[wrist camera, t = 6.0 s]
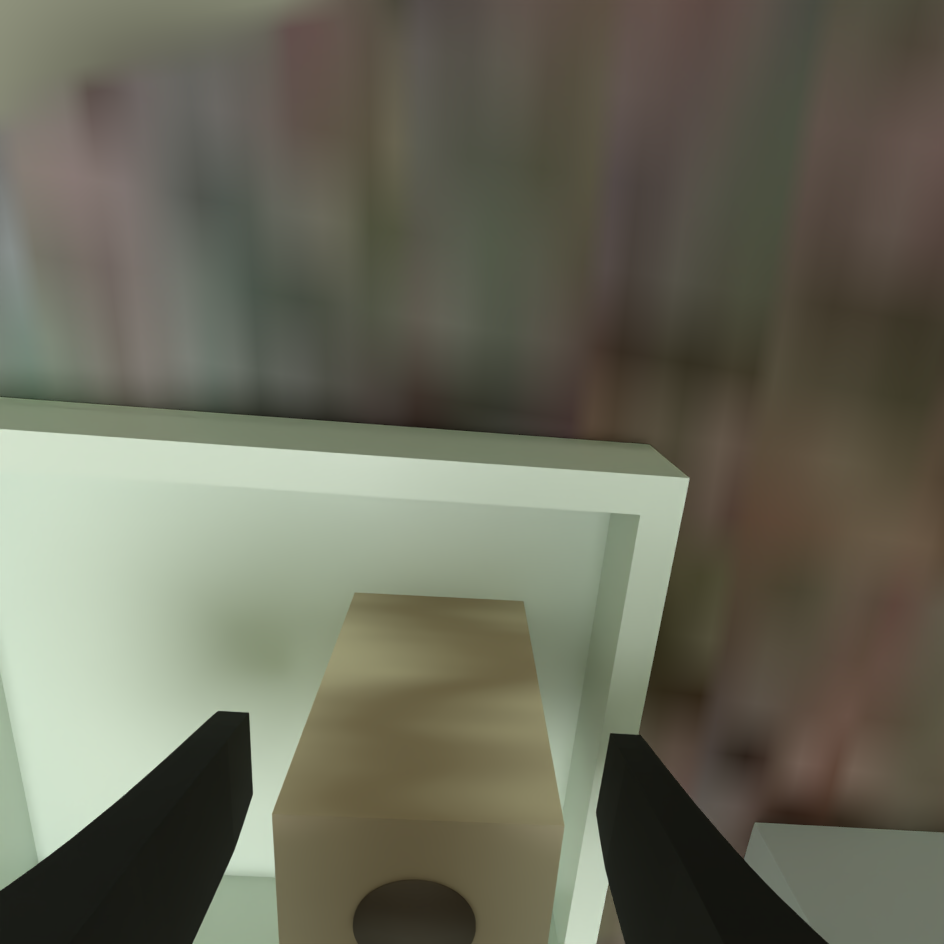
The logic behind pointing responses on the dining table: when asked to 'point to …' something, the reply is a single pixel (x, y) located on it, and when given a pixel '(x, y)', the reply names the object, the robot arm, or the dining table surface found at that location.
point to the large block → (855, 880)
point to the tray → (299, 603)
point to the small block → (421, 783)
